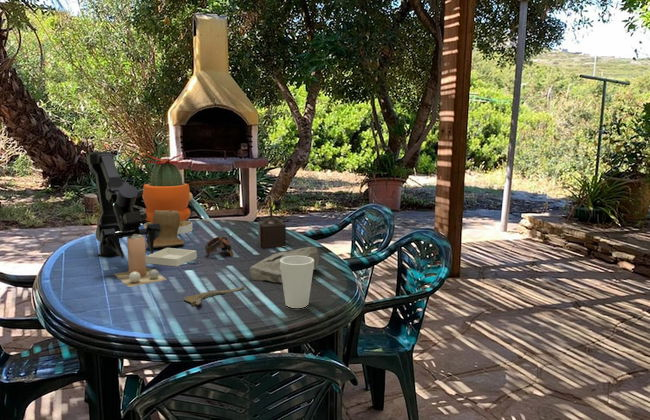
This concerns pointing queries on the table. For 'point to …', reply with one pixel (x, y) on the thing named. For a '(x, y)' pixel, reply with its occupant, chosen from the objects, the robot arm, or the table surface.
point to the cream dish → (171, 257)
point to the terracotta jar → (137, 254)
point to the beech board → (143, 280)
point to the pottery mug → (219, 245)
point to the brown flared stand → (167, 229)
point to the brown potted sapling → (272, 229)
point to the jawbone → (207, 295)
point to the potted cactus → (167, 193)
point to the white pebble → (134, 276)
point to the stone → (271, 265)
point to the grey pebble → (153, 274)
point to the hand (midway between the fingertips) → (137, 255)
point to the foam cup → (296, 280)
